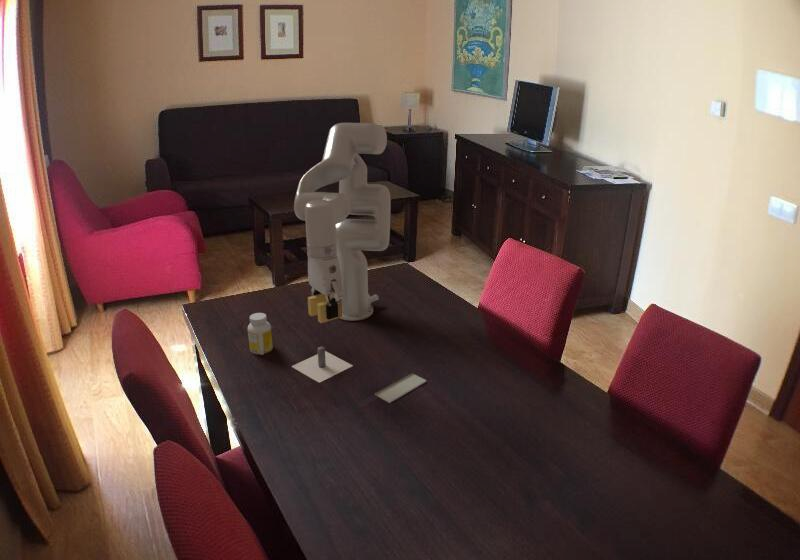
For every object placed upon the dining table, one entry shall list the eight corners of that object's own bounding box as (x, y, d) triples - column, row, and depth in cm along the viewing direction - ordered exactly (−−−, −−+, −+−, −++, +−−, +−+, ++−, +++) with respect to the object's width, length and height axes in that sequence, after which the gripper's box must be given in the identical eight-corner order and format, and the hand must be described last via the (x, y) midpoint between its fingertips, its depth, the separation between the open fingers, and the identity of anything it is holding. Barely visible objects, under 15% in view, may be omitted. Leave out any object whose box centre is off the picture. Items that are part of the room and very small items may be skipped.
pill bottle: (275, 347, 188) (272, 311, 184) (269, 358, 182) (266, 321, 178) (254, 346, 189) (250, 310, 184) (247, 357, 183) (243, 320, 178)
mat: (389, 363, 180) (389, 361, 180) (426, 381, 171) (426, 380, 171) (351, 382, 170) (351, 381, 170) (389, 403, 161) (389, 401, 161)
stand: (325, 353, 185) (323, 333, 182) (353, 368, 177) (352, 348, 174) (291, 369, 177) (289, 348, 174) (319, 385, 169) (318, 364, 166)
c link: (329, 308, 174) (329, 291, 172) (342, 316, 169) (341, 299, 167) (308, 314, 170) (307, 297, 168) (320, 323, 165) (319, 305, 163)
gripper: (353, 255, 158) (355, 321, 165) (318, 237, 171) (321, 298, 178) (326, 262, 154) (329, 329, 161) (292, 242, 167) (297, 305, 174)
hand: (325, 312), depth 169 cm, fingers closed on c link, 6 cm apart
